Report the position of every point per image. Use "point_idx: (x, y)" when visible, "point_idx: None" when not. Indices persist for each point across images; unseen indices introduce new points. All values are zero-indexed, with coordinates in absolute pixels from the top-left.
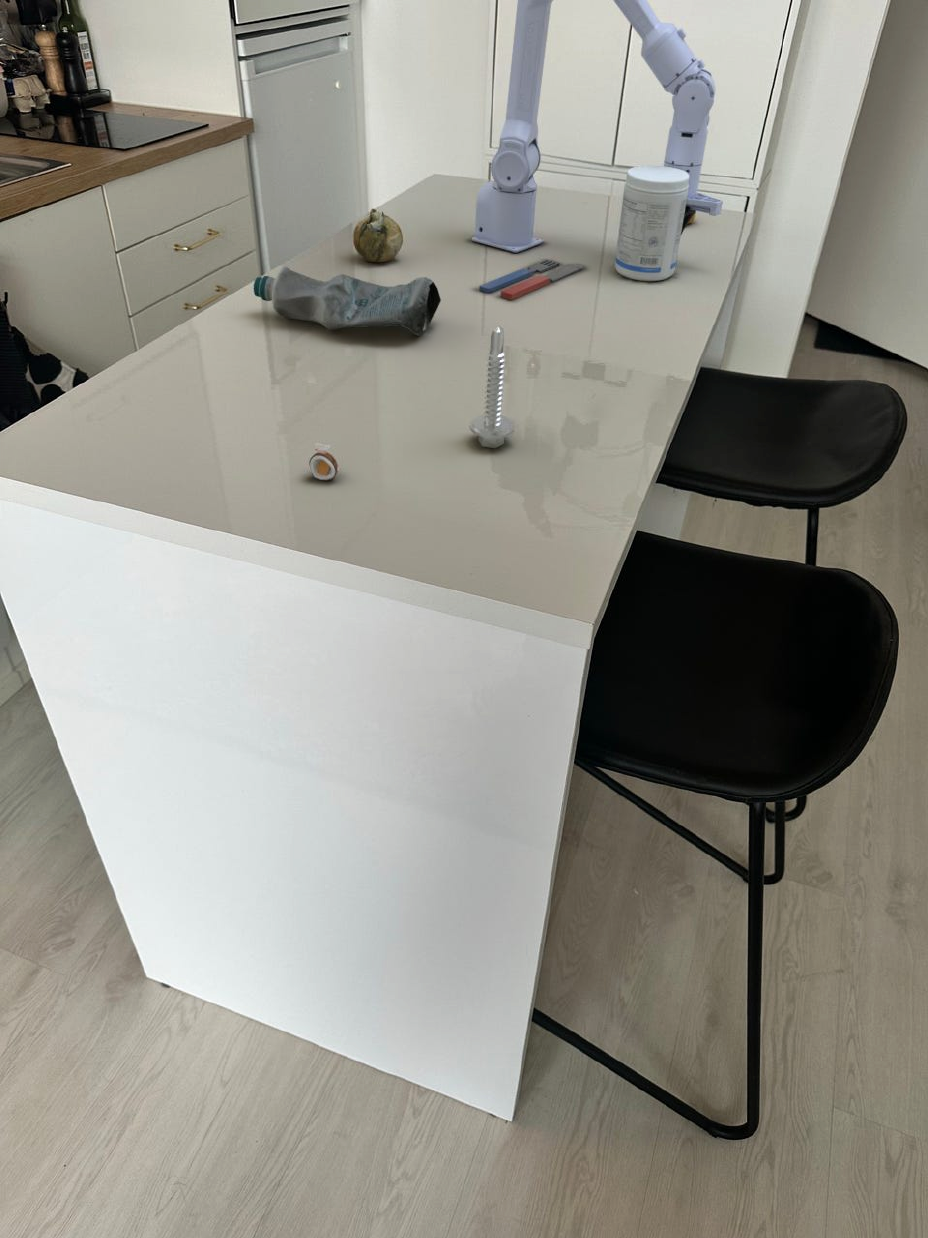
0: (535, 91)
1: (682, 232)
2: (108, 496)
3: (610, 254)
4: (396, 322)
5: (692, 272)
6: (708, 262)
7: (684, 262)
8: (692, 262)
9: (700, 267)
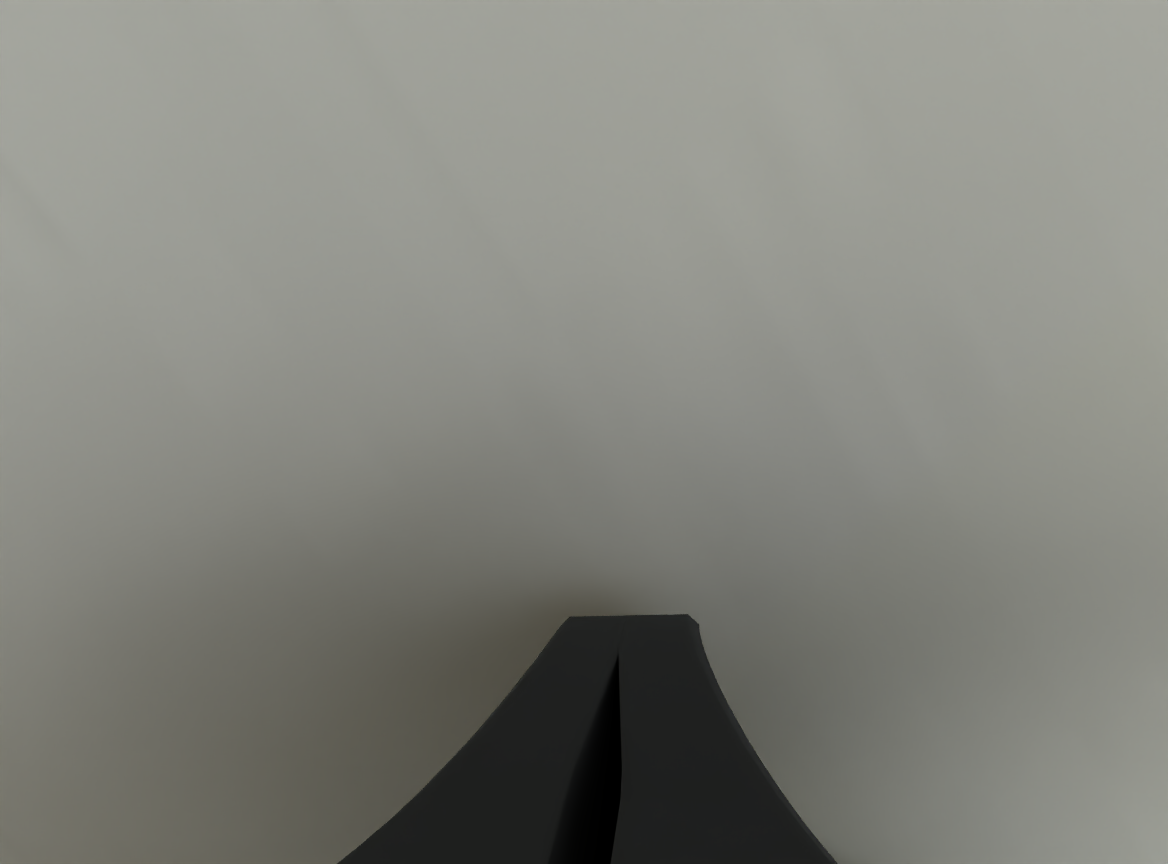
0: None
1: (784, 799)
2: None
3: (3, 836)
4: None
5: (1136, 730)
6: (1162, 144)
7: (841, 446)
8: (939, 354)
9: (1148, 471)
